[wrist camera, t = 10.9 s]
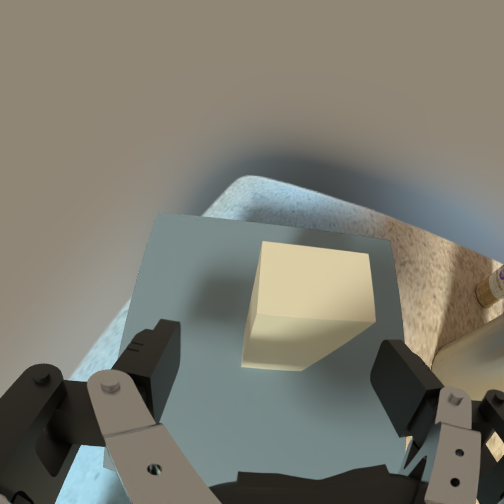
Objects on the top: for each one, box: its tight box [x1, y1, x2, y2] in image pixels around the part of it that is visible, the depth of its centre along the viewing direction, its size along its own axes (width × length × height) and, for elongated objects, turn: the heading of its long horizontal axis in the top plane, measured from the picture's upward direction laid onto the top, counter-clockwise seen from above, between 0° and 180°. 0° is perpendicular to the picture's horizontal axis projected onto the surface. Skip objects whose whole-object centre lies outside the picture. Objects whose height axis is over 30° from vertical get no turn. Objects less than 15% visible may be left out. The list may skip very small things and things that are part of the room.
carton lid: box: [103, 213, 406, 487], centre depth 14 cm, size 16×16×16 cm
